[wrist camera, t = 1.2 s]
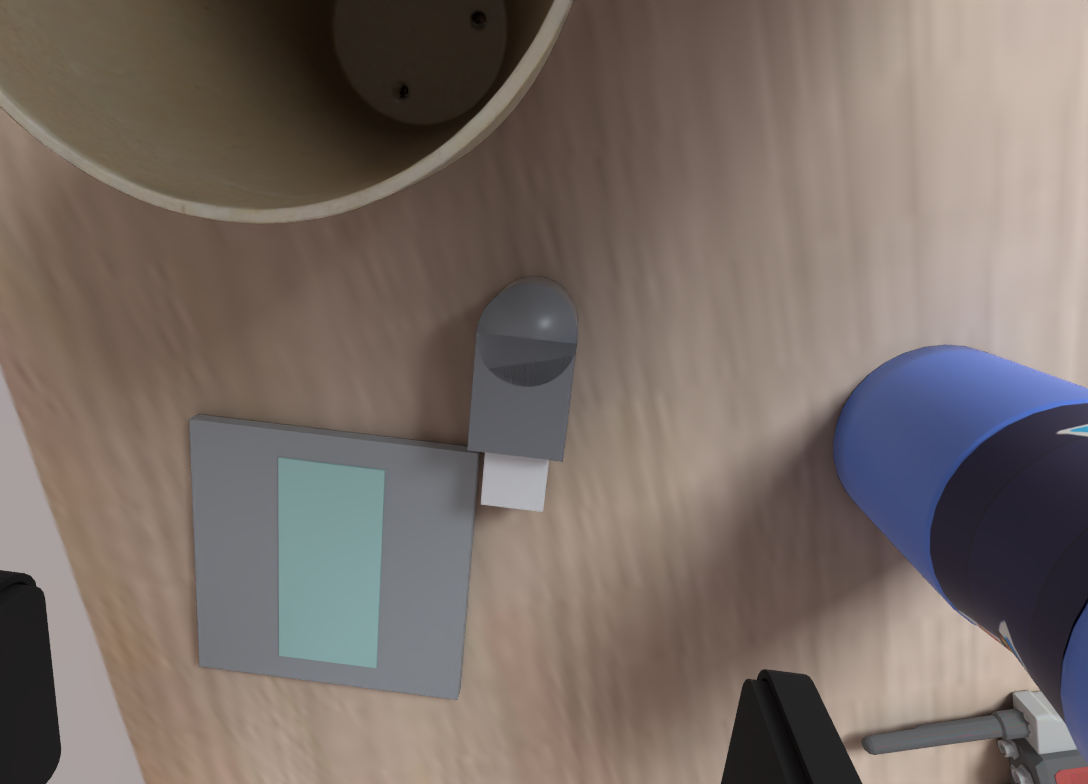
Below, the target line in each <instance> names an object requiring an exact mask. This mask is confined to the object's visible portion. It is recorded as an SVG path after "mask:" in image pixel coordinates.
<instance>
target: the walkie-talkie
mask: <svg viewBox="0 0 1088 784" xmlns="http://www.w3.org/2000/svg"><path fill="white" fill-rule="evenodd" d="M1012 695H1013V709H1008V710H1002V711H995V712H992V715H987V716H980V717H973V718H966V719H959V720H952V721H945V722H938V723H932V724H925V725H918V726H917V728H916V729H909V730H903V731H896V732H889V733H883V734H876V735H869V736H866V737H864V738H863V739H862V746H863V748H864V749H865V750H866V751H867V752H868V753H869V754H873V755H877V754H884V753H891V752H898V751H905V750H912V749H919V748H927V747H934V746H941V745H948V744H955V743H962V742H969V741H976V740H983V739H990V738H997V737H1001V738H1003V739H1002V740H998V747H999V749H1000V751H1001V753H1002V754H1003V753H1006V755H1004V757H1009V766H1010V779H1011V784H1088V763H1087V762H1086V760H1085V759H1084V758H1083V757H1082V755H1081V754H1080V753H1079V752H1078V750H1077V748H1076V746H1075V744H1074V741H1073V739H1072V737H1071V735H1070V733H1069V730H1068V728H1067V726H1066V724H1065V723H1064V721H1063V720H1062V719H1061V717H1060V716H1059V715H1058V713H1057V712H1056V711H1055V709H1054V708H1053V706H1052V705H1051V704H1050V702H1049V701H1048V700H1047V698H1046V697H1045V696H1044V694H1043V693H1042V692H1041V691H1037V692H1030V691H1028V690H1026V691H1020V692H1013V693H1012Z"/></svg>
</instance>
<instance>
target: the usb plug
mask: <svg viewBox="0 0 1088 784" xmlns="http://www.w3.org/2000/svg"><path fill="white" fill-rule="evenodd" d="M577 332H578V313H577V308H576V305H575V303H574V301H573V299H572V297H571V296H570V294H569V293H568V292H567V291H566V289H565V288H563V287H562V286H561V285H560V284H558V283H557V282H555V281H553V280H551V279H548V278H545V277H539V276H530V277H524V278H520V279H518V280H515V281H514V282H512V283H510V284H509V285H507V286H506V287H505V288H504V289H503V290H502V291H501V292H500V293H499V294H498V295H497V296H496V297H495V298H494V299H493V300H492V301H491V302H490V303H489V304H488V305H487V306H486V308H485V309H484V311H483V313H482V314H481V317H480V319H479V322H478V326H477V332H476V345H475V358H474V371H473V384H472V397H471V409H470V422H469V435H468V448H467V450H469V451H478V452H485V460H484V471H483V483H482V495H481V505H489V506H498V507H506V508H514V509H522V510H531V511H539V512H543V507H544V500H545V492H546V484H547V475H548V466H549V460H554V461H562V462H563V456H564V447H565V439H566V430H567V422H568V414H569V405H570V397H571V388H572V380H573V372H574V363H575V355H576V346H577Z"/></svg>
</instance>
